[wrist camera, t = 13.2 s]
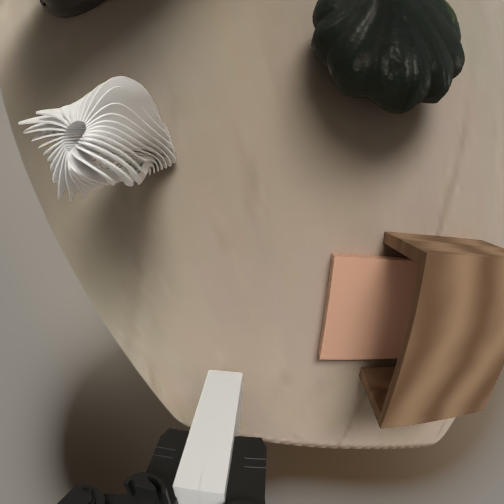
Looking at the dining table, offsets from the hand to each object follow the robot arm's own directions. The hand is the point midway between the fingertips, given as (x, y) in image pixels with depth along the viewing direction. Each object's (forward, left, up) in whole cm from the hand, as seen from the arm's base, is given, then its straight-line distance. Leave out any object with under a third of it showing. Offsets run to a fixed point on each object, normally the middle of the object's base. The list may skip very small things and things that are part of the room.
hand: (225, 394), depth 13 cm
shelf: (+21, -4, -20) cm, 30 cm away
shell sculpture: (-11, +12, -21) cm, 26 cm away
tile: (+17, -4, -21) cm, 27 cm away
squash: (+12, +24, -21) cm, 34 cm away
